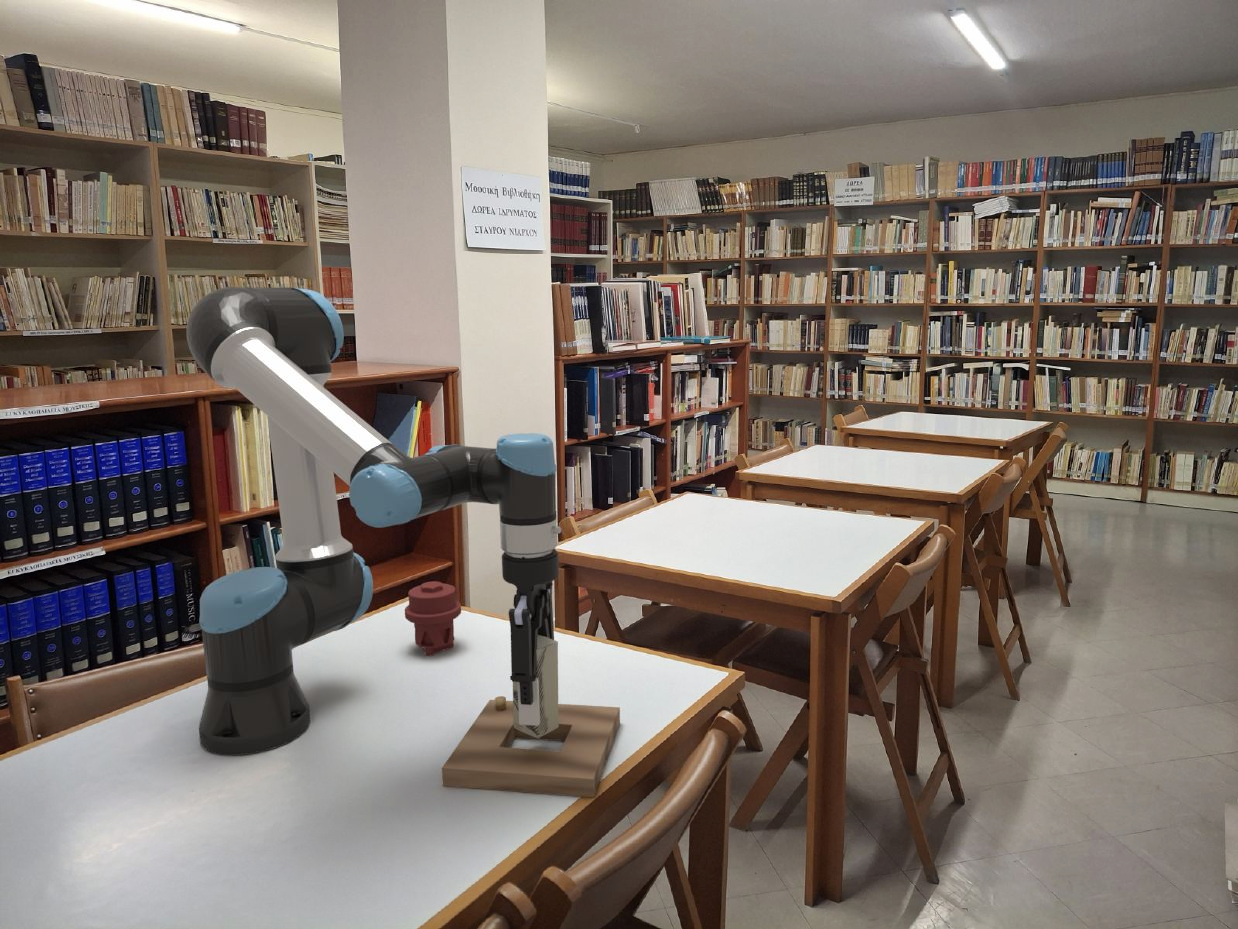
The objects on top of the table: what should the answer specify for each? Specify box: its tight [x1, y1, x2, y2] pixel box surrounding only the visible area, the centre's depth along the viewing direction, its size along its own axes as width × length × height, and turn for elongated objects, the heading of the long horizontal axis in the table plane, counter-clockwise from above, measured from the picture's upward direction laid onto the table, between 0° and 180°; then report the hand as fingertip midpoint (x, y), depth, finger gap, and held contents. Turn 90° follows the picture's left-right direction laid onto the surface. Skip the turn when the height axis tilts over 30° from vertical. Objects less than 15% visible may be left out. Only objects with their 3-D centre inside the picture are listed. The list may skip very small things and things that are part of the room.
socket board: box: [441, 695, 621, 798], centre depth 119 cm, size 20×20×4 cm
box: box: [512, 635, 559, 738], centre depth 117 cm, size 5×4×13 cm
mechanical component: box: [404, 580, 462, 657], centre depth 156 cm, size 12×10×10 cm
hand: (536, 712), depth 118 cm, fingers closed on box, 6 cm apart
